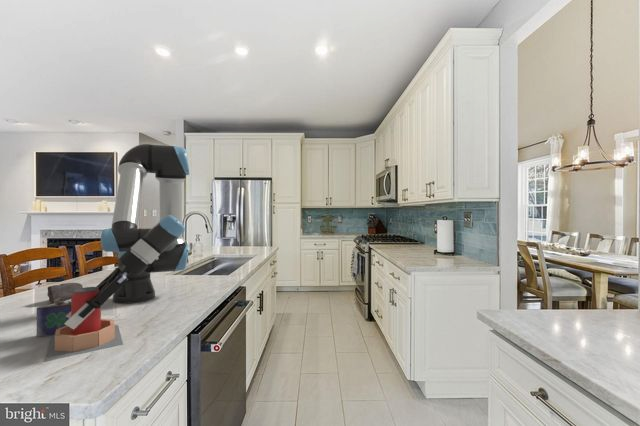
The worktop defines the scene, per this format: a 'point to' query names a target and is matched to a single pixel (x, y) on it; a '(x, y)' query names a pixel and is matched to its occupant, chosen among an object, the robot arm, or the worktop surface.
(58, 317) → the flask
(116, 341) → the mat
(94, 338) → the dish
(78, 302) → the beer can
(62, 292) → the perforated stone tool
